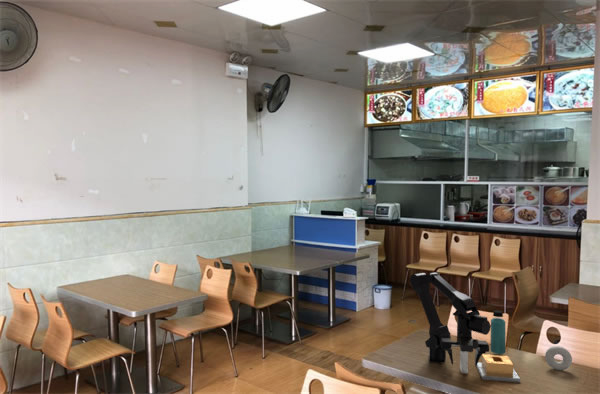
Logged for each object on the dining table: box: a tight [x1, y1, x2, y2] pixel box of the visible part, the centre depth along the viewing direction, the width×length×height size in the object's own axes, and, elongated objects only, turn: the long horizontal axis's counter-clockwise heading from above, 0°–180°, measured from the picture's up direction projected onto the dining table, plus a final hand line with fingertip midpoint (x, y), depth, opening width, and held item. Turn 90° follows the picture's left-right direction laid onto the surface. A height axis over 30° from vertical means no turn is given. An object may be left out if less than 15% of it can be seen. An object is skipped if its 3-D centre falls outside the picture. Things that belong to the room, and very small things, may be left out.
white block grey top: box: [459, 349, 469, 374], centre depth 191 cm, size 2×4×9 cm, turn 169°
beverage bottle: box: [489, 310, 507, 355], centre depth 209 cm, size 6×7×20 cm
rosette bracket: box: [475, 353, 521, 383], centre depth 189 cm, size 14×15×6 cm
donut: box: [544, 345, 573, 371], centre depth 192 cm, size 10×3×10 cm, turn 66°
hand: (463, 365), depth 191 cm, fingers open, 9 cm apart
